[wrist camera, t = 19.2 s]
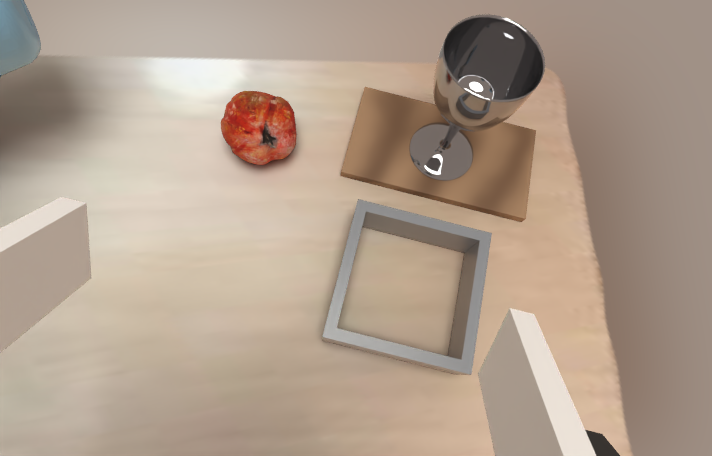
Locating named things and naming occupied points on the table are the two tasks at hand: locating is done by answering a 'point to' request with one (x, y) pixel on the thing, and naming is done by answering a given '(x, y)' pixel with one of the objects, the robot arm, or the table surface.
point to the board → (397, 171)
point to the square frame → (468, 294)
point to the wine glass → (475, 90)
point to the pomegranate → (259, 127)
